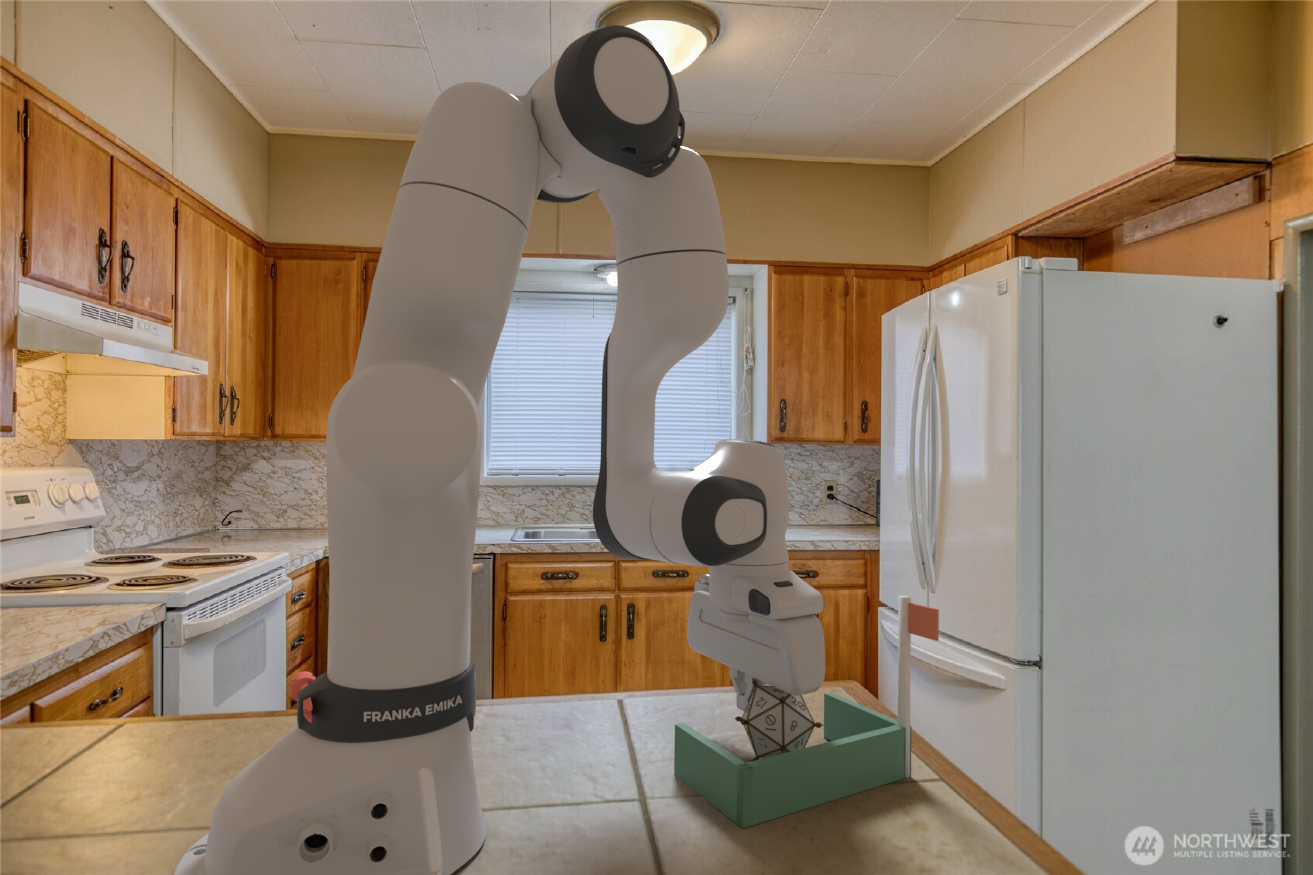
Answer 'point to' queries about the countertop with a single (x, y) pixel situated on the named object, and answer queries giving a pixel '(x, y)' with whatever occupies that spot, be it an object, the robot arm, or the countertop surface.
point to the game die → (776, 721)
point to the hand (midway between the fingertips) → (748, 710)
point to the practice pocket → (813, 749)
